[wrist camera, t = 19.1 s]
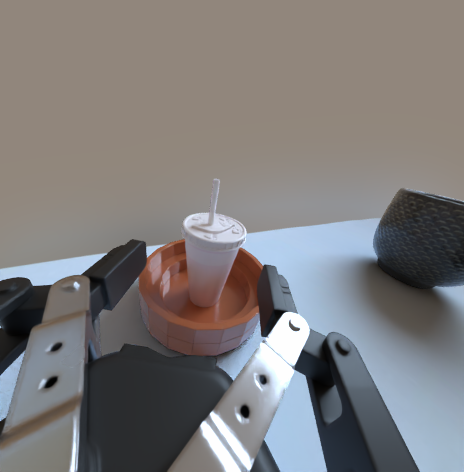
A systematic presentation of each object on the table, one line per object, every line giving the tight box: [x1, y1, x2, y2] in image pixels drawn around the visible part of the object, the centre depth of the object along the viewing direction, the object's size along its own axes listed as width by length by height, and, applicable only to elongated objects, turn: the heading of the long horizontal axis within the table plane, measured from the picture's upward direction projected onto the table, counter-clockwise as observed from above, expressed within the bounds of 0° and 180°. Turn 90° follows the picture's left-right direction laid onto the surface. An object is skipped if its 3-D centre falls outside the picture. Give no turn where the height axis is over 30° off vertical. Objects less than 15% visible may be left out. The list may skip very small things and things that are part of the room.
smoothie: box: [181, 179, 247, 307], centre depth 18 cm, size 6×6×14 cm
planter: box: [373, 188, 464, 289], centre depth 33 cm, size 17×17×16 cm
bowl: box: [139, 239, 263, 356], centre depth 21 cm, size 14×14×4 cm
